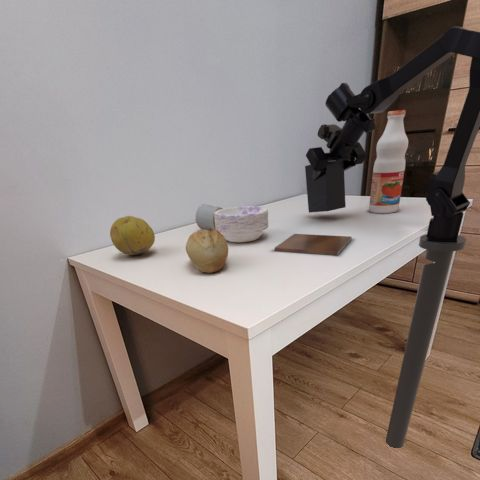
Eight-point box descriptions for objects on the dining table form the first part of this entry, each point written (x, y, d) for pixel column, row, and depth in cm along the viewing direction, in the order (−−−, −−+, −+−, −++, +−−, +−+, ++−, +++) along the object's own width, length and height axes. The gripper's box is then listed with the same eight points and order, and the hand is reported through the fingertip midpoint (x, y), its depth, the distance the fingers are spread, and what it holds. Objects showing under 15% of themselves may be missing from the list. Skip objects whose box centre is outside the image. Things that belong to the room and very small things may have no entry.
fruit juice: (381, 207, 121) (394, 111, 106) (404, 210, 114) (421, 108, 99) (362, 211, 117) (372, 113, 102) (384, 215, 110) (399, 109, 95)
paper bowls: (269, 230, 105) (268, 203, 100) (268, 244, 92) (267, 213, 88) (220, 233, 107) (218, 206, 102) (212, 247, 94) (209, 217, 90)
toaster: (345, 207, 108) (343, 157, 102) (328, 211, 106) (325, 160, 100) (322, 209, 118) (319, 163, 112) (305, 212, 116) (301, 166, 110)
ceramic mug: (215, 233, 107) (213, 207, 103) (196, 231, 111) (193, 206, 107) (236, 226, 114) (234, 201, 110) (217, 224, 118) (215, 201, 114)
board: (351, 239, 90) (351, 236, 89) (337, 255, 80) (337, 252, 79) (294, 236, 97) (294, 233, 96) (274, 250, 87) (274, 247, 86)
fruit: (119, 264, 87) (108, 223, 82) (113, 253, 97) (103, 216, 91) (161, 255, 91) (153, 216, 86) (152, 246, 100) (144, 210, 95)
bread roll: (220, 253, 88) (217, 221, 84) (236, 270, 76) (233, 234, 72) (184, 259, 86) (178, 227, 82) (194, 278, 74) (188, 241, 70)
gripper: (362, 109, 98) (335, 154, 113) (310, 113, 92) (288, 160, 106) (380, 139, 96) (350, 181, 111) (328, 146, 90) (303, 189, 104)
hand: (323, 177), depth 108 cm, fingers closed on toaster, 7 cm apart
